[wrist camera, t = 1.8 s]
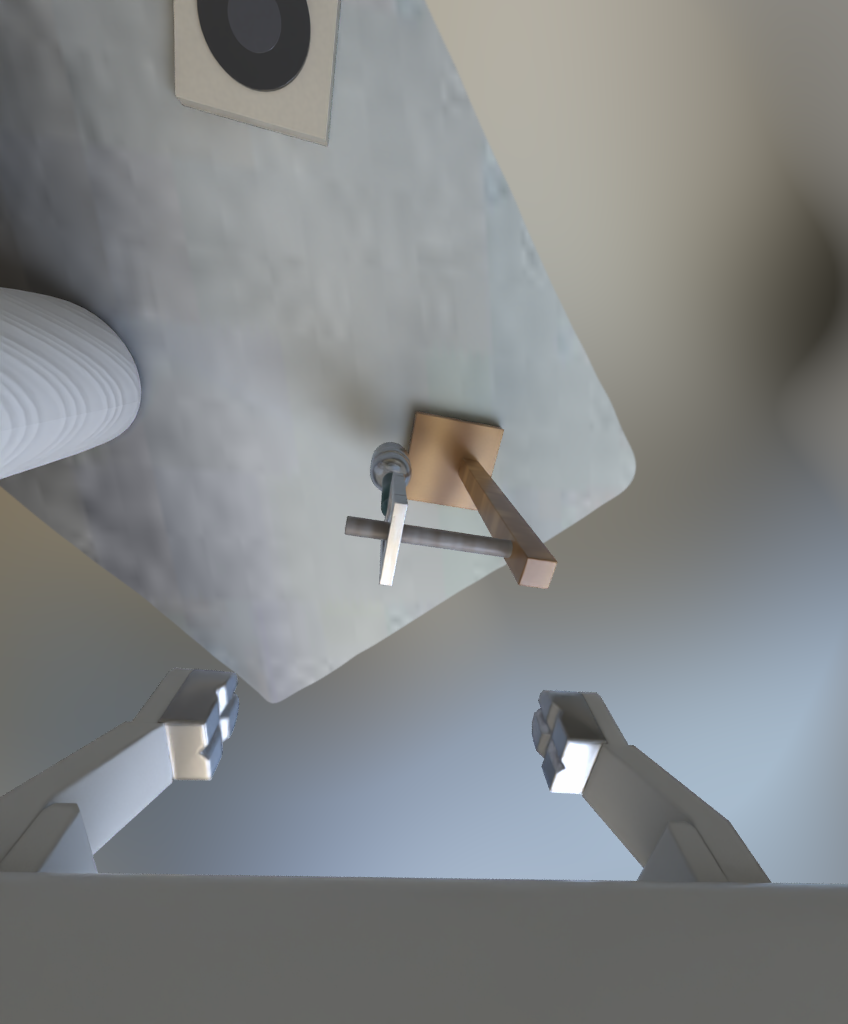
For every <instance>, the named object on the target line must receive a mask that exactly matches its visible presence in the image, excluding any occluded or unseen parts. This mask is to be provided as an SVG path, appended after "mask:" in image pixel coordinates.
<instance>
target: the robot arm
mask: <svg viewBox="0 0 848 1024" xmlns="http://www.w3.org/2000/svg"><path fill="white" fill-rule="evenodd" d="M237 684H238V680H237V673H235V672H225V671H215V670H214V671H213V670H203V669H186V668H173V669H172V670H170V671H169V672H168V673H167V674H166V676H165V677H164V678H163V680H162V681H161V682H160V684H159V685H158V687H157V688H156V689H155V691H154V692H153V693H152V695H151V696H150V698H149V699H148V700H147V702H146V703H145V705H144V706H143V707H142V709H141V710H140V711H139V713H138V714H137V715H136V717H135V718H134V719H133V721H132V722H127V721H126V722H124V723H122V724H120V725H119V726H117V727H116V728H114V729H112V730H110V731H109V732H107V733H105V734H104V735H102V736H100V737H99V738H97V739H96V740H94V741H92V742H91V743H89V744H87V745H86V746H84V747H82V748H81V749H79V750H77V751H76V752H74V753H72V754H71V755H69V756H68V757H66V758H64V759H63V760H61V761H59V762H57V763H56V764H54V765H53V766H51V767H49V768H48V769H46V770H44V771H43V772H41V773H39V774H38V775H36V776H34V777H33V778H31V779H29V780H28V781H26V782H24V783H23V784H22V785H20V786H18V787H16V788H15V789H13V790H11V791H10V792H8V793H6V794H5V795H3V796H2V797H0V1024H848V884H811V883H806V884H805V883H771V881H770V880H769V878H768V877H767V875H766V874H765V873H764V871H763V870H762V868H761V867H760V865H759V864H758V862H757V861H756V859H755V858H754V856H753V855H752V854H751V852H750V851H749V850H748V848H747V846H746V845H745V843H744V842H743V840H742V839H741V838H740V836H739V835H738V833H737V832H736V830H735V829H734V827H733V826H732V825H731V823H730V822H729V821H728V820H727V819H726V818H725V817H723V816H722V815H721V814H720V813H718V812H717V811H716V810H714V809H713V808H712V807H711V806H709V805H708V804H707V803H706V802H704V801H703V800H702V799H701V798H699V797H698V796H697V795H696V794H694V793H693V792H692V791H690V790H689V789H688V788H687V787H685V786H684V785H683V784H682V783H681V782H679V781H678V780H677V779H675V778H674V777H673V776H672V775H670V774H669V773H668V772H667V771H665V770H664V769H663V768H662V767H660V766H659V765H658V764H657V763H655V762H654V761H653V760H652V759H650V758H649V757H648V756H646V755H645V754H644V753H643V752H641V751H640V750H639V749H638V748H636V747H635V746H634V745H628V743H627V742H626V740H625V738H624V736H623V735H622V733H621V732H620V729H619V728H618V726H617V724H616V723H615V721H614V719H613V717H612V716H611V714H610V712H609V710H608V709H607V707H606V705H605V703H604V702H603V700H602V698H601V697H600V696H599V695H598V694H597V693H594V692H572V691H552V690H543V691H542V692H541V693H540V696H539V700H538V701H539V704H540V707H541V708H540V709H538V710H537V711H536V712H535V713H534V716H533V720H532V736H533V742H534V745H535V748H536V751H537V752H538V753H539V754H540V755H541V756H542V757H543V758H544V761H543V764H542V769H543V772H544V775H545V778H546V781H547V784H548V787H549V790H550V792H558V793H573V794H583V795H582V796H583V798H584V799H585V800H586V801H587V802H588V803H589V805H590V806H591V807H592V808H593V809H594V811H595V812H596V813H597V814H598V815H599V816H600V817H601V819H602V820H603V821H604V822H605V823H606V825H607V826H608V827H609V828H610V829H611V830H612V832H613V833H614V834H615V835H616V836H617V837H618V839H619V840H620V841H621V842H622V843H623V845H624V846H625V847H626V848H627V849H628V850H629V852H630V853H631V854H632V855H633V856H634V857H635V858H636V860H637V861H638V862H639V863H640V864H641V865H642V867H643V870H642V872H641V874H640V876H639V878H638V879H637V881H603V880H599V881H598V880H534V879H531V880H529V879H460V878H459V879H457V878H454V879H453V878H391V877H390V878H389V877H318V876H317V877H315V876H313V877H312V876H250V875H249V876H248V875H182V874H181V875H179V874H113V873H112V874H110V873H98V870H97V867H96V864H95V860H94V857H93V854H95V852H97V851H98V850H99V849H100V848H101V847H102V846H103V845H104V844H105V843H106V842H108V841H109V840H110V839H111V838H112V837H113V836H114V835H115V834H116V833H117V832H119V831H120V830H121V829H122V828H123V827H124V826H125V825H126V824H127V823H128V822H130V820H132V819H133V818H134V817H135V816H136V815H137V814H138V813H139V812H140V811H141V810H143V809H144V808H145V807H146V806H147V805H148V804H149V803H150V802H151V801H152V800H154V799H155V798H156V797H157V796H158V795H159V794H160V793H161V792H162V791H163V790H164V789H166V788H167V787H168V786H169V785H170V784H171V783H172V780H211V778H212V776H213V774H214V772H215V770H216V767H217V765H218V763H219V761H220V758H221V756H222V753H223V751H222V743H223V742H224V741H225V740H227V739H228V738H229V737H230V736H231V734H232V731H233V729H234V726H235V723H236V719H237V715H238V709H239V697H238V696H237V695H236V694H235V693H234V691H235V689H236V686H237Z"/></svg>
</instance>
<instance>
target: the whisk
mask: <svg viewBox="0 0 848 1024" xmlns="http://www.w3.org/2000/svg"><path fill="white" fill-rule="evenodd" d="M370 476H371V480H372V482H373V484H374V485H375V486H376V487H377V488H378V489H379V490H381V491H382V501H381V510H382V513H383V515H384V516H385V520H384V521H385V522H389V525H388V530H387V535H386V540H381V550H380V577H379V584H381V585H389V586H392V582H393V577H394V572H395V567H396V562H397V557H398V552H399V547H400V542H401V537H402V532H403V527H404V522H405V517H406V512H407V506H408V502H407V494H406V487H407V485H408V484H409V482H410V480H411V477H412V468H411V463H410V458H409V454H408V452H407V451H406V449H405V448H404V447H403V446H401V445H400V444H398V443H394V442H387V443H383V444H381V445H380V446H379V447H377V448H376V450H375V451H374V453H373V455H372V460H371V467H370Z"/></svg>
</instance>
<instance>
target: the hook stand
mask: <svg viewBox="0 0 848 1024" xmlns="http://www.w3.org/2000/svg"><path fill="white" fill-rule="evenodd" d="M503 432H504V430H503V429H502V428H501V427H496V426H491V425H486V424H481V423H476V422H471V421H466V420H460V419H455V418H450V417H445V416H440V415H435V414H429V413H424V412H419V411H416V413H415V418H414V423H413V429H412V434H411V439H410V444H409V450H408V454H409V458H410V463H411V468H412V477H411V480H410V482H409V484H408V485H407V487H406V494H407V499H409V500H415V501H421V502H427V503H434V504H440V505H446V506H453V507H459V508H465V509H471V510H478V512H479V514H480V515H481V517H482V519H483V521H484V523H485V525H486V526H487V528H488V530H489V532H490V534H491V536H492V537H493V538H492V537H485V536H479V535H472V534H465V533H459V532H452V531H445V530H439V529H432V528H425V527H419V526H412V525H405V524H404V527H403V532H402V537H401V543H408V544H415V545H422V546H429V547H436V548H443V549H450V550H457V551H464V552H471V553H478V554H485V555H492V556H499V557H504V559H505V561H506V563H507V565H508V566H509V568H510V570H511V572H512V574H513V576H514V577H515V579H516V581H517V583H518V584H519V585H522V586H529V587H537V588H544V589H548V588H549V585H550V582H551V579H552V576H553V574H554V571H555V568H556V565H557V561H556V559H555V558H554V557H553V555H552V554H551V553H550V552H549V550H548V549H547V548H546V547H545V545H544V544H543V543H542V541H541V540H540V539H539V538H538V536H537V535H536V534H535V533H534V531H533V530H532V529H531V528H530V526H529V525H528V524H527V522H526V521H525V520H524V519H523V517H522V516H521V515H520V514H519V512H518V511H517V510H516V509H515V507H514V506H513V505H512V503H511V502H510V501H509V500H508V498H507V497H506V496H505V495H504V493H503V492H502V491H501V490H500V488H499V487H498V486H497V484H496V483H495V482H494V481H493V479H492V478H491V476H492V472H493V469H494V465H495V461H496V458H497V454H498V450H499V447H500V443H501V439H502V436H503ZM388 525H389V522H385V521H379V520H372V519H365V518H359V517H352V516H348V517H347V521H346V527H345V534H346V535H352V536H359V537H366V538H373V539H380V540H386V535H387V530H388Z"/></svg>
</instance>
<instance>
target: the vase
mask: <svg viewBox="0 0 848 1024" xmlns="http://www.w3.org/2000/svg"><path fill="white" fill-rule="evenodd" d="M140 401H141V384H140V377H139V374H138V370H137V367H136V365H135V362H134V360H133V358H132V356H131V354H130V352H129V351H128V349H127V347H126V346H125V344H124V343H123V342H122V340H121V339H120V338H119V336H118V335H117V334H116V333H115V332H114V331H113V330H112V329H111V328H110V327H109V326H108V325H107V324H106V323H105V322H103V321H102V320H101V319H100V318H98V317H97V316H96V315H94V314H93V313H91V312H89V311H88V310H86V309H84V308H83V307H80V306H78V305H76V304H74V303H71V302H69V301H66V300H62V299H59V298H55V297H52V296H48V295H43V294H39V293H33V292H27V291H22V290H16V289H10V288H3V287H0V479H2V478H5V477H8V476H11V475H14V474H17V473H20V472H24V471H27V470H30V469H33V468H36V467H39V466H42V465H45V464H48V463H51V462H54V461H57V460H60V459H63V458H66V457H69V456H72V455H75V454H78V453H80V452H83V451H86V450H88V449H91V448H94V447H96V446H99V445H101V444H104V443H106V442H108V441H110V440H112V439H114V438H115V437H117V436H119V435H120V434H122V433H123V432H124V431H125V430H126V429H127V428H128V427H129V426H130V425H131V424H132V422H133V421H134V419H135V417H136V415H137V413H138V410H139V406H140Z"/></svg>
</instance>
